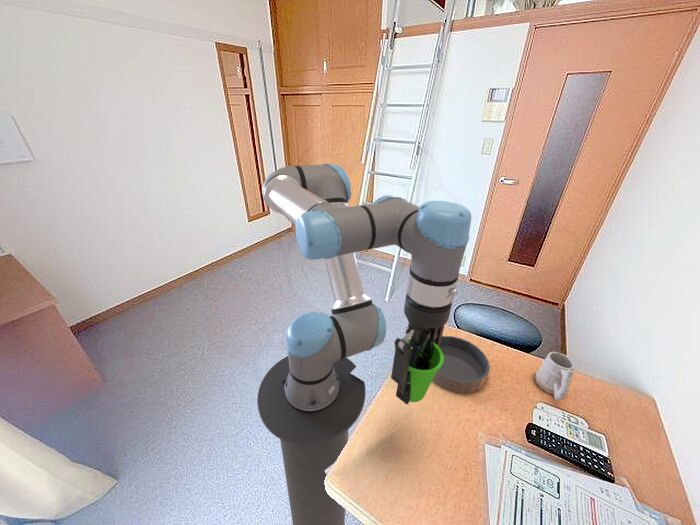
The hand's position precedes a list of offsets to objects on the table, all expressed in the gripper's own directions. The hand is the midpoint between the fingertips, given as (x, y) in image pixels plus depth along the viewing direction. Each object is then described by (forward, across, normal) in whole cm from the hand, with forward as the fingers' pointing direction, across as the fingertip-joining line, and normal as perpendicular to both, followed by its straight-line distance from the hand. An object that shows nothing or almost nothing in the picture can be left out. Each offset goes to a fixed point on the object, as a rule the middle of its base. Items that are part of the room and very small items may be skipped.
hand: (411, 390), depth 58 cm
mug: (+19, +43, -20) cm, 52 cm away
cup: (0, 0, 0) cm, 0 cm away
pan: (+19, +30, +3) cm, 36 cm away
